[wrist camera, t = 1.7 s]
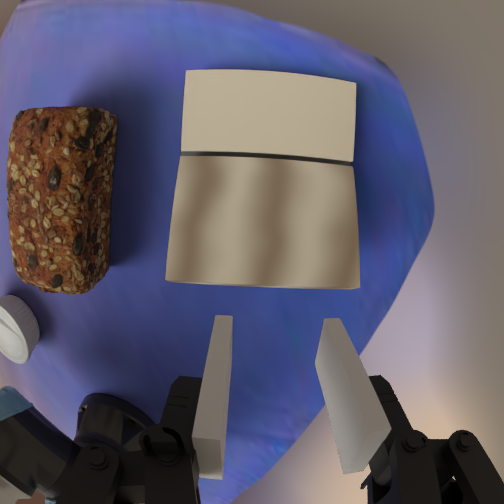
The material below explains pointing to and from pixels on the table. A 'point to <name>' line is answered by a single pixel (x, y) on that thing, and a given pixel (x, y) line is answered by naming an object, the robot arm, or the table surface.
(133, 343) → the table surface
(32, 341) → the ramekin
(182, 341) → the table surface
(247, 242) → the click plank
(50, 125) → the bread
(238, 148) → the floor base
